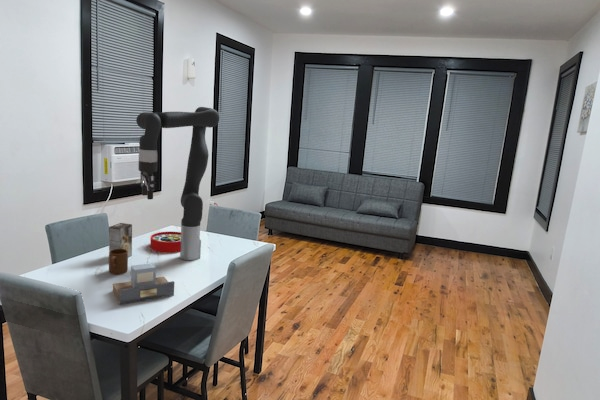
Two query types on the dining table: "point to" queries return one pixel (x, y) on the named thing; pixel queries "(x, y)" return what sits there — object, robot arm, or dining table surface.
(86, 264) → the dining table surface
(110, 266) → the mug
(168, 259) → the dining table surface
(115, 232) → the coffee box
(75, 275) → the dining table surface
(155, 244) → the toy clock
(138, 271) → the carton
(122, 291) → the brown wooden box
